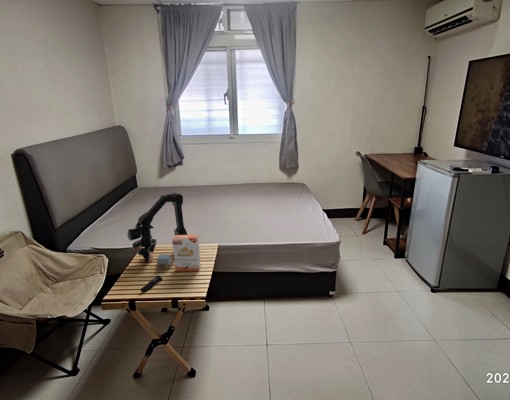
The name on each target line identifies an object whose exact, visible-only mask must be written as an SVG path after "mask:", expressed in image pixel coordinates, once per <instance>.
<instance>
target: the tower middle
mask: <svg viewBox="0 0 510 400" xmlns="http://www.w3.org/2000/svg"><path fill="white" fill-rule="evenodd" d="M171 259H172V258H171V254H170V253H167V254H166V253H164V254H162V253H161V254H158V257H157V258H156V261H157V262H156V264H157V265H159V264H169V262H170V260H171Z"/></svg>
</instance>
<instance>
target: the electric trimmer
mask: <svg viewBox="0 0 510 400" xmlns="http://www.w3.org/2000/svg"><path fill="white" fill-rule="evenodd" d="M162 280H163V277H162V276H161V275H157V276H155V277H153V279H151V280H150V281H148V283H147V284H144V286H143V287H142V288H140V292H143V293H145V292H147V291H149V290H151V289H152V288H154V285H156V284H157V283H159V282H160V281H162Z"/></svg>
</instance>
